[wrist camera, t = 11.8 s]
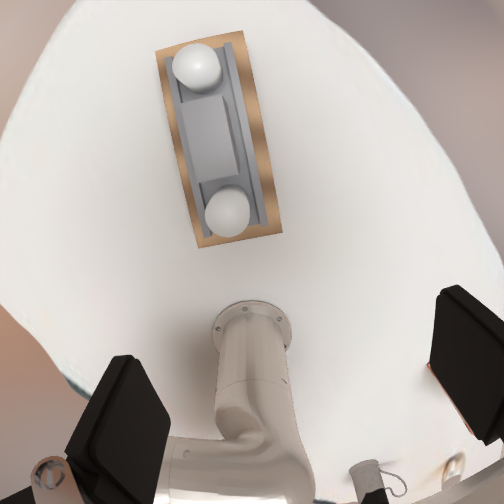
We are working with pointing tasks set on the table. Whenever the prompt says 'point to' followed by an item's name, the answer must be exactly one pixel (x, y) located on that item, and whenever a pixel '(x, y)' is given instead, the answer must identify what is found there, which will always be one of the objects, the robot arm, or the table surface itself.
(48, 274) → the table surface
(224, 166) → the grey elongated piece
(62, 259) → the table surface
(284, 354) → the robot arm
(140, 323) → the table surface
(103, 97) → the table surface
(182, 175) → the curved wooden channel
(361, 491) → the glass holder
